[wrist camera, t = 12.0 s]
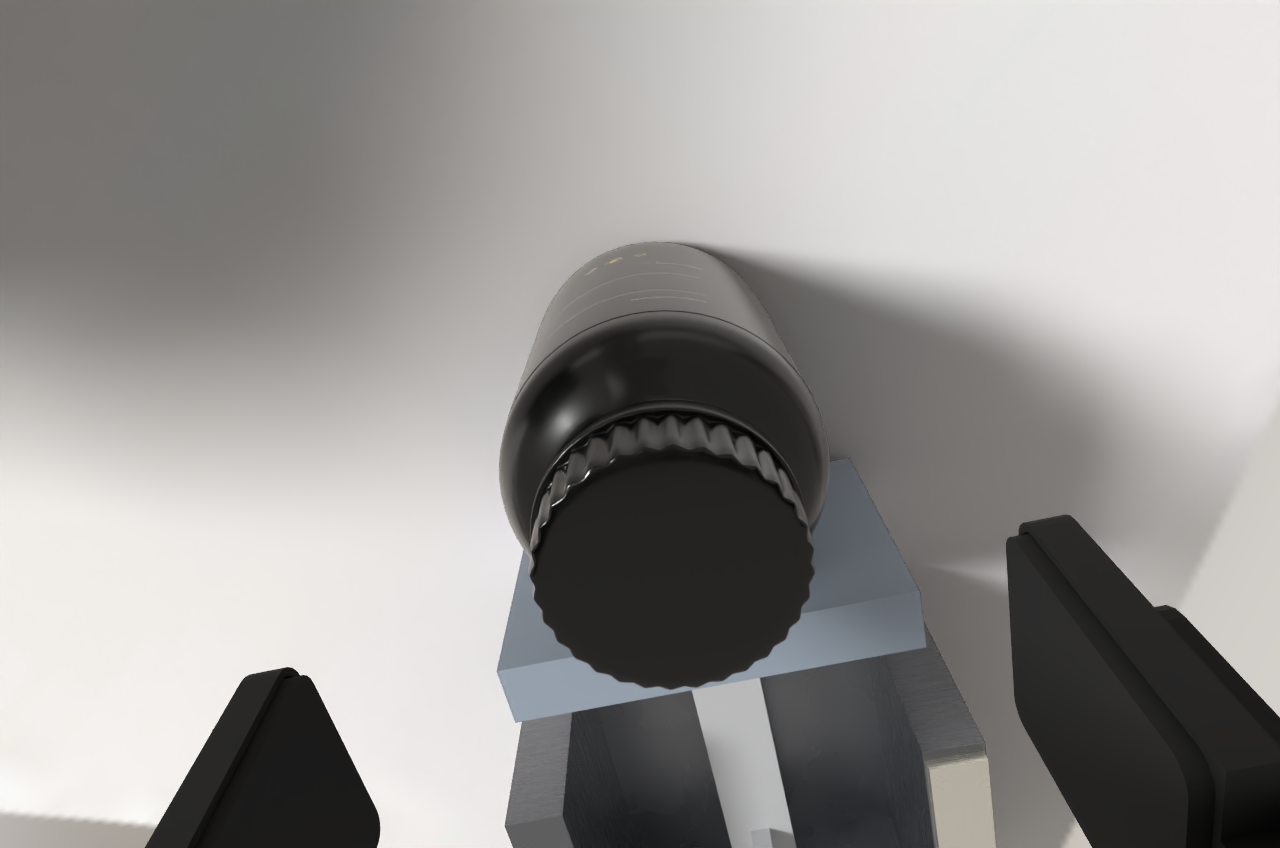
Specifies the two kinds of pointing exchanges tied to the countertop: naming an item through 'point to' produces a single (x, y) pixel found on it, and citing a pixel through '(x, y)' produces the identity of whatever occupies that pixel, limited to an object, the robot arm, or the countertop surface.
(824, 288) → the countertop surface
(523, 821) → the box
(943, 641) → the countertop surface
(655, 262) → the supplement bottle
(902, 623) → the gauge plunger
